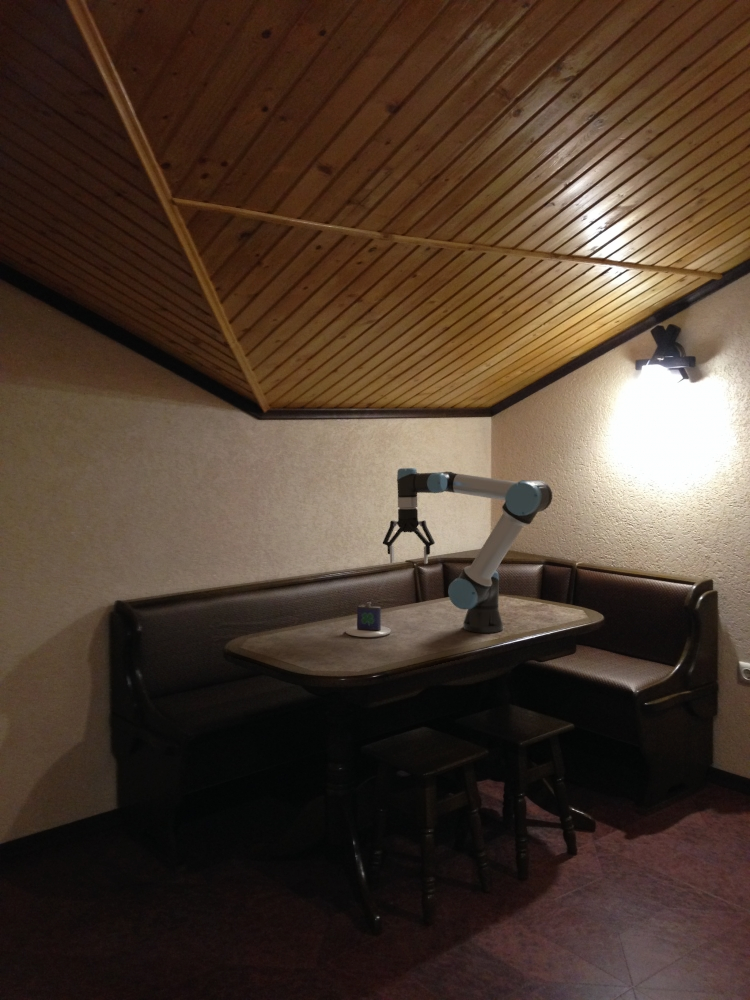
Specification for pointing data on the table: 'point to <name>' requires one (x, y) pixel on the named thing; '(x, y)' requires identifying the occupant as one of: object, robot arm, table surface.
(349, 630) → the plate
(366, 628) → the blue hip flask
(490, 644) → the table surface
